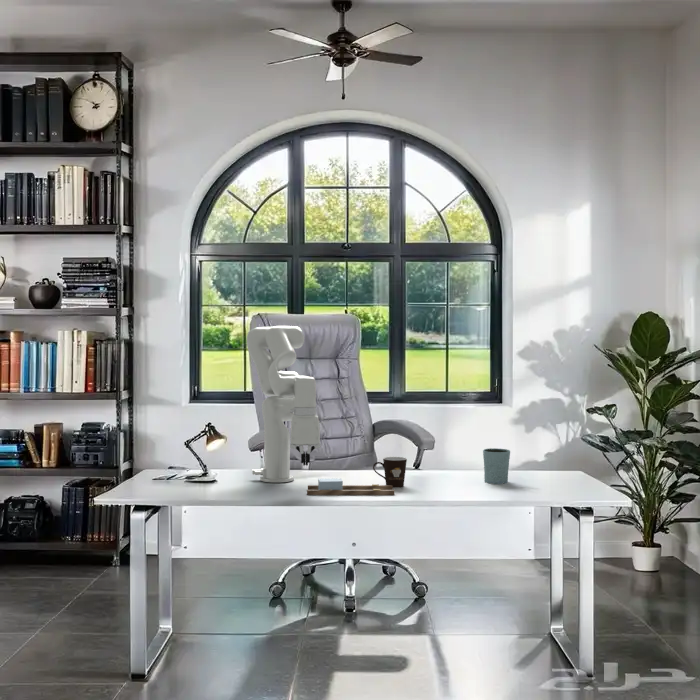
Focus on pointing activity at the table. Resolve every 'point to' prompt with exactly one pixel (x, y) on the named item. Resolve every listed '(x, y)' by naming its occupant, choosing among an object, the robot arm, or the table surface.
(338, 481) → the block
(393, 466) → the coffee mug
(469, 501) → the table surface
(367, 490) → the wooden rail frame
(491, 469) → the green tapered cup
